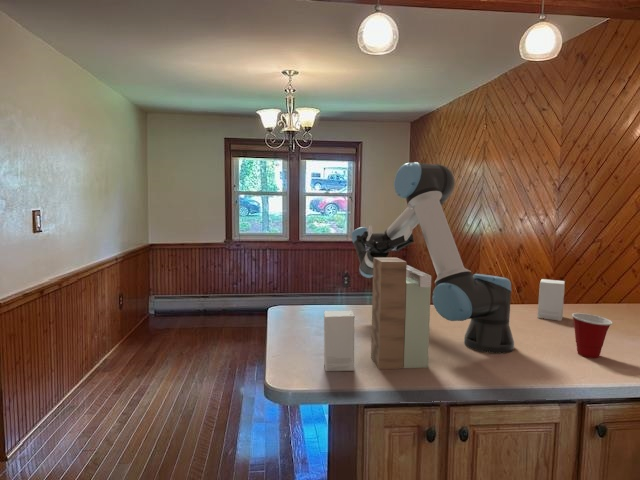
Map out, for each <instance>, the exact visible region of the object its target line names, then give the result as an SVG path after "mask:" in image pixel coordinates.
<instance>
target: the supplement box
mask: <svg viewBox="0 0 640 480" xmlns="http://www.w3.org/2000/svg"><path fill="white" fill-rule="evenodd" d="M565 283H566V281H565V280H556V279H548V278H547V279H546V278H541V280H540V282H539V288H538V289H539V291H538V292H539V293H538V306H537V319H543V318H544V319H545V320H553V321H558V322H562V321H563V314H564V304H565V289H566V288H565V286H566V284H565ZM544 319H543V320H544Z"/></svg>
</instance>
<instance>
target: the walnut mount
mask: <svg viewBox="0 0 640 480" xmlns="http://www.w3.org/2000/svg"><path fill="white" fill-rule="evenodd" d="M407 265H408V263H407V261H406V260H404V259H402V258H398V257H387V258H373V277H372V297H371V298H372V300H371V301H372V303H371V304H372V305H371V306H372V307H371V336H370V337H371V340H370V341H371V342H370V343H371V344H370V347H371V348H370V358H371V361H372V362H373V363H374V364H375V366H376V367H377V369H378V370H390V369H391V370H392V369H404V368H403V360H404V329H405V298H406V267H407Z"/></svg>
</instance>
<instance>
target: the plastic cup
mask: <svg viewBox="0 0 640 480" xmlns="http://www.w3.org/2000/svg"><path fill="white" fill-rule="evenodd" d="M571 317H572V319H573V320H572V321H573V326H574V335H575V336H574V337H575V344H576V350H577V354H578V355H579V356H581V357H584V358H588V359H589V358H590V359H598V358H599V357H600V355H601V352H602V348H603V346H604V342H605V339H606V337H607V336H606V335H607V333H608V331H609V329H610V326H611V325H612V324H613V321H612V320H611V319H608V318H606V317H602V316H599V315H594V314H590V313H589V314H588V313H583V312H582V313H580V312H575V313H574V312H573V313H572V314H571Z"/></svg>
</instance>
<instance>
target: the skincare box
mask: <svg viewBox="0 0 640 480" xmlns="http://www.w3.org/2000/svg"><path fill="white" fill-rule="evenodd" d="M323 334H324V335H323V342H324V343H323V347H324V348H323V350H324V351H323V355H324V357H323V358H324V362H323V363H324V371H325V372H354V371H355V314H354V312H353V310H324V312H323Z"/></svg>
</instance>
